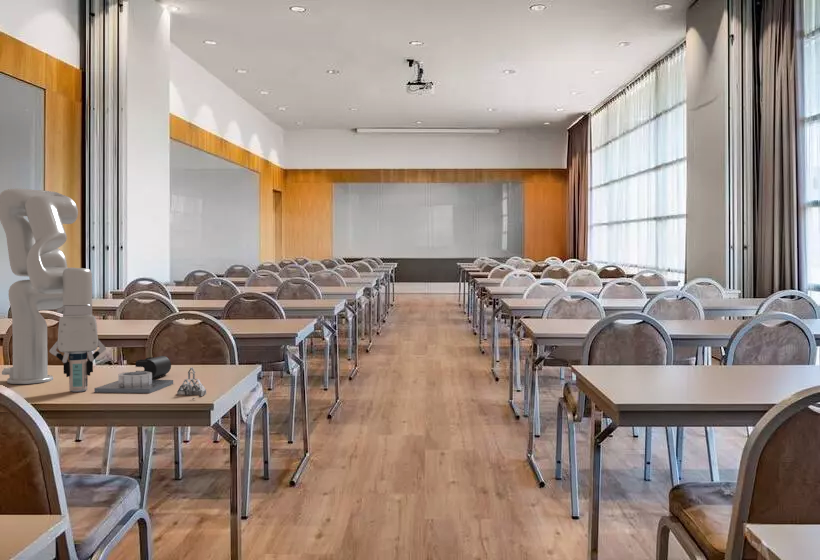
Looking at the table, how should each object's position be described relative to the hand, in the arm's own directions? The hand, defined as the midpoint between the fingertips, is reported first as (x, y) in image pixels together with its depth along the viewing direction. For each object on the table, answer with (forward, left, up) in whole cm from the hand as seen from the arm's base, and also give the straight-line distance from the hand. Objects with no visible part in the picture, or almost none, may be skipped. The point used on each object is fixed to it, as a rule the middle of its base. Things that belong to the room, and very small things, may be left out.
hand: (78, 375), depth 199 cm
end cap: (+11, +24, -5) cm, 27 cm away
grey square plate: (+14, +6, -5) cm, 16 cm away
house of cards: (+33, -4, -5) cm, 33 cm away
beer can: (0, 0, -5) cm, 5 cm away
